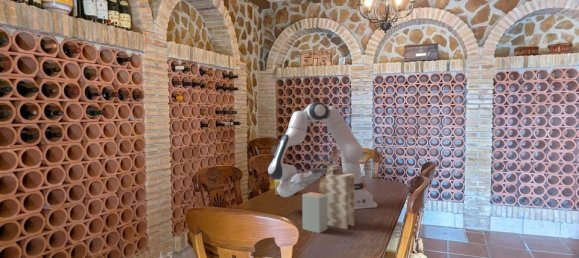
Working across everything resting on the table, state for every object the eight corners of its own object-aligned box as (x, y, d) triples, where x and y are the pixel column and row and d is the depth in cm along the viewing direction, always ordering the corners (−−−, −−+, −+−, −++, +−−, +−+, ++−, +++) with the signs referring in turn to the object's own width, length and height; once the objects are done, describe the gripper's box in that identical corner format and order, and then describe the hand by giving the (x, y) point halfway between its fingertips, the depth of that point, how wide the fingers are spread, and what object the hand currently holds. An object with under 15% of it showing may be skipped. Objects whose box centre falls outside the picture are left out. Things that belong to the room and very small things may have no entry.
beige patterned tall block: (325, 224, 183) (325, 166, 182) (334, 220, 189) (334, 164, 188) (346, 229, 176) (346, 168, 174) (354, 225, 182) (354, 166, 180)
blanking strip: (312, 172, 190) (312, 168, 190) (315, 171, 193) (315, 168, 193) (334, 173, 181) (334, 169, 181) (338, 172, 184) (337, 168, 184)
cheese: (289, 192, 256) (289, 178, 256) (289, 195, 246) (289, 181, 245) (274, 192, 256) (274, 178, 256) (274, 196, 245) (274, 181, 245)
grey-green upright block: (302, 228, 176) (302, 194, 176) (310, 225, 182) (310, 191, 181) (319, 233, 170) (319, 197, 169) (327, 229, 176) (327, 194, 175)
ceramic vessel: (329, 205, 220) (330, 164, 219) (310, 199, 236) (310, 161, 234) (350, 200, 231) (351, 162, 230) (330, 195, 246) (330, 159, 245)
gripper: (285, 179, 191) (303, 168, 183) (308, 173, 207) (325, 163, 199) (290, 189, 189) (308, 179, 181) (312, 183, 205) (330, 173, 197)
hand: (317, 170), depth 190 cm, fingers open, 8 cm apart
